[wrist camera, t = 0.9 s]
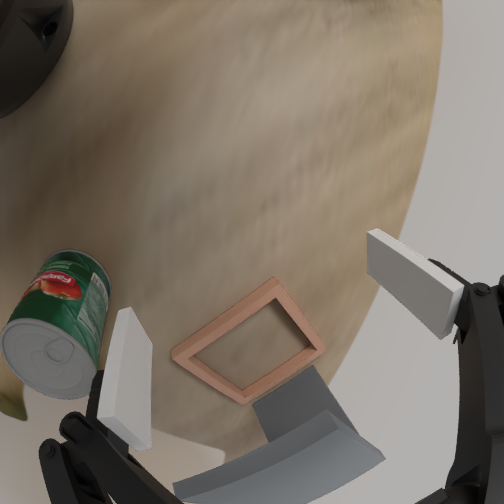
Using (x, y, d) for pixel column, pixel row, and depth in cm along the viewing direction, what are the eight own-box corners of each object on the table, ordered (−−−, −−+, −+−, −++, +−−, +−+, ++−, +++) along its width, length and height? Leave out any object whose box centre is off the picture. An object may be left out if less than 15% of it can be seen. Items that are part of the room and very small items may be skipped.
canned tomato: (82, 329, 25) (64, 411, 16) (29, 281, 21) (-13, 354, 12) (127, 289, 25) (118, 373, 16) (71, 231, 21) (24, 298, 12)
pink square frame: (171, 349, 30) (172, 358, 28) (274, 276, 30) (279, 283, 28) (239, 397, 37) (242, 405, 36) (322, 342, 37) (327, 349, 36)
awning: (155, 335, 28) (176, 500, 12) (243, 271, 28) (338, 428, 12) (256, 406, 39) (301, 505, 23) (320, 364, 39) (386, 458, 23)
